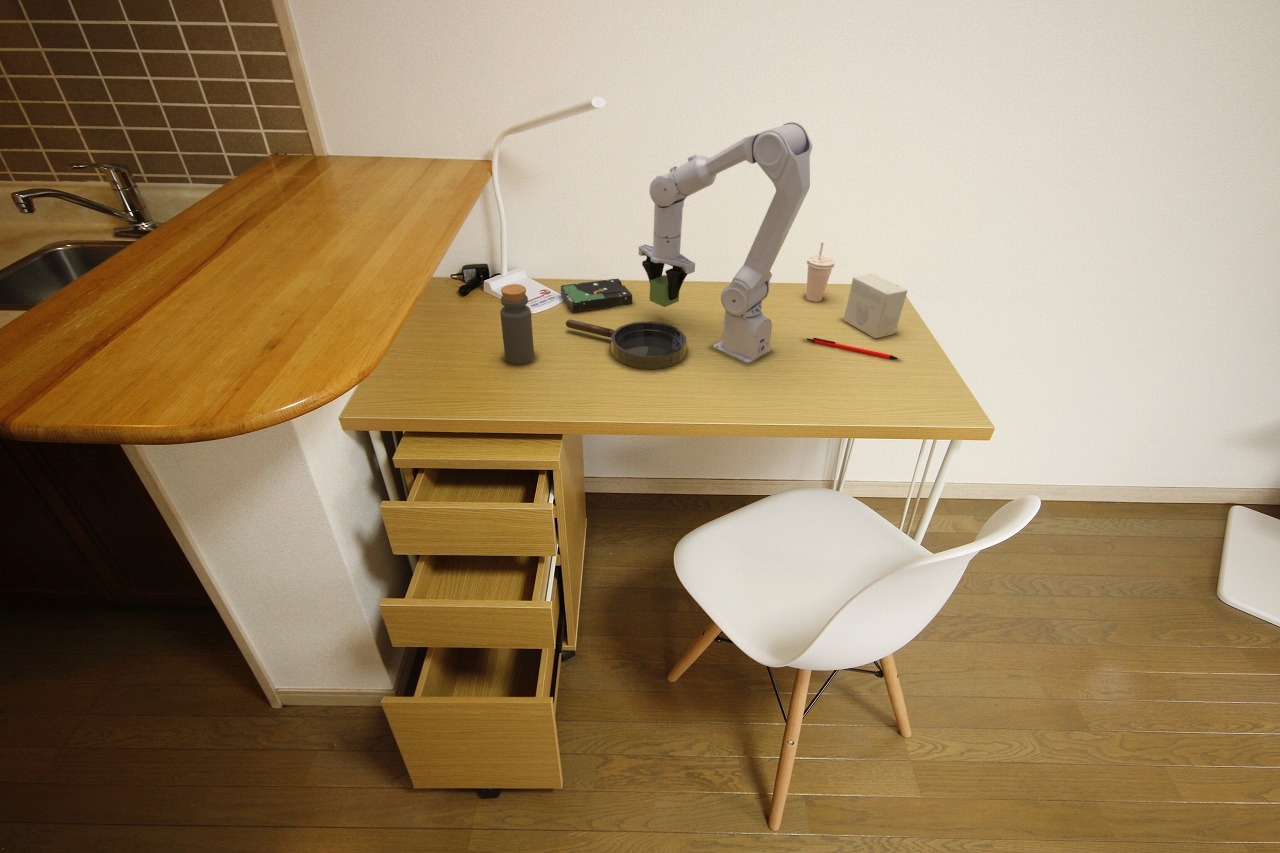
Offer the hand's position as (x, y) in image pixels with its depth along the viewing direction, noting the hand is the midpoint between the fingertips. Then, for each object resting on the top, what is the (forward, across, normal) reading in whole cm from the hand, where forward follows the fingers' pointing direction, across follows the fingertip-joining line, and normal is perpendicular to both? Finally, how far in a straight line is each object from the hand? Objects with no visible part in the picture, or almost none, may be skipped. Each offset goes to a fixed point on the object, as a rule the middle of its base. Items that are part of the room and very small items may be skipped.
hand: (664, 295), depth 144 cm
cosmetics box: (+7, +33, +33) cm, 47 cm away
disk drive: (+7, -19, -3) cm, 20 cm away
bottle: (+7, -9, -33) cm, 35 cm away
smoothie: (+7, +16, +37) cm, 41 cm away
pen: (+7, +36, +20) cm, 42 cm away
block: (+1, 0, 0) cm, 1 cm away
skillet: (+7, +7, -12) cm, 15 cm away
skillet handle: (+6, -6, -17) cm, 18 cm away
